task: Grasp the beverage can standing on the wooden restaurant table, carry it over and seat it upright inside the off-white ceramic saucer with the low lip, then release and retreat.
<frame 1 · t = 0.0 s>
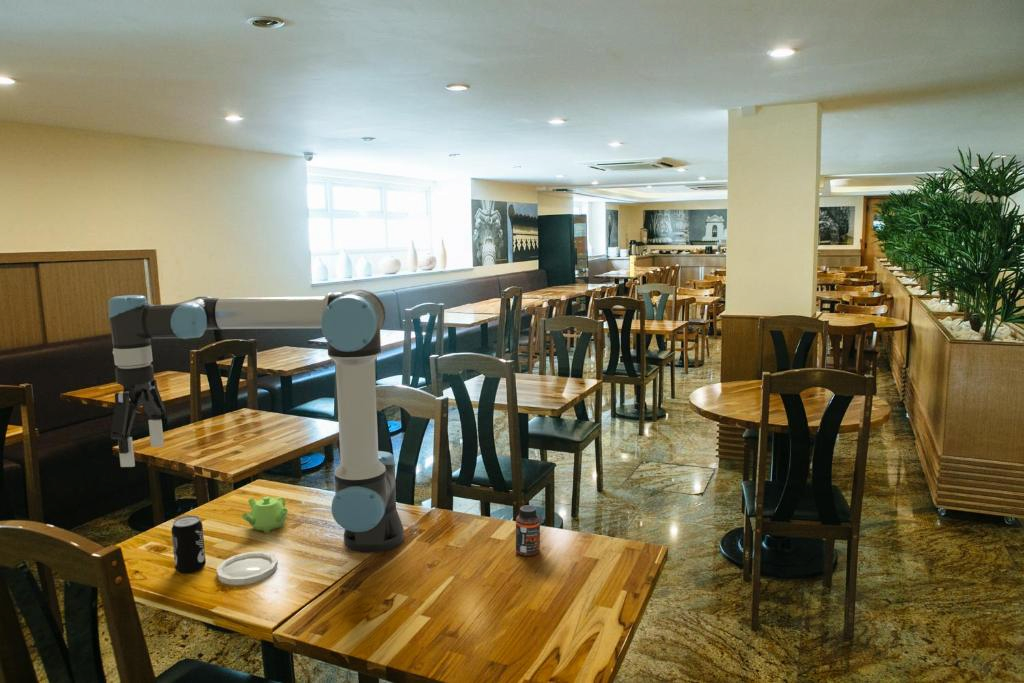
hand: (143, 456, 158), 28 cm above the table, fingers open, 13 cm apart
teapot: (266, 529, 185), on the table
supplement bottle: (527, 552, 171), on the table
beverage can: (190, 569, 164), on the table
saucer: (247, 571, 162), on the table
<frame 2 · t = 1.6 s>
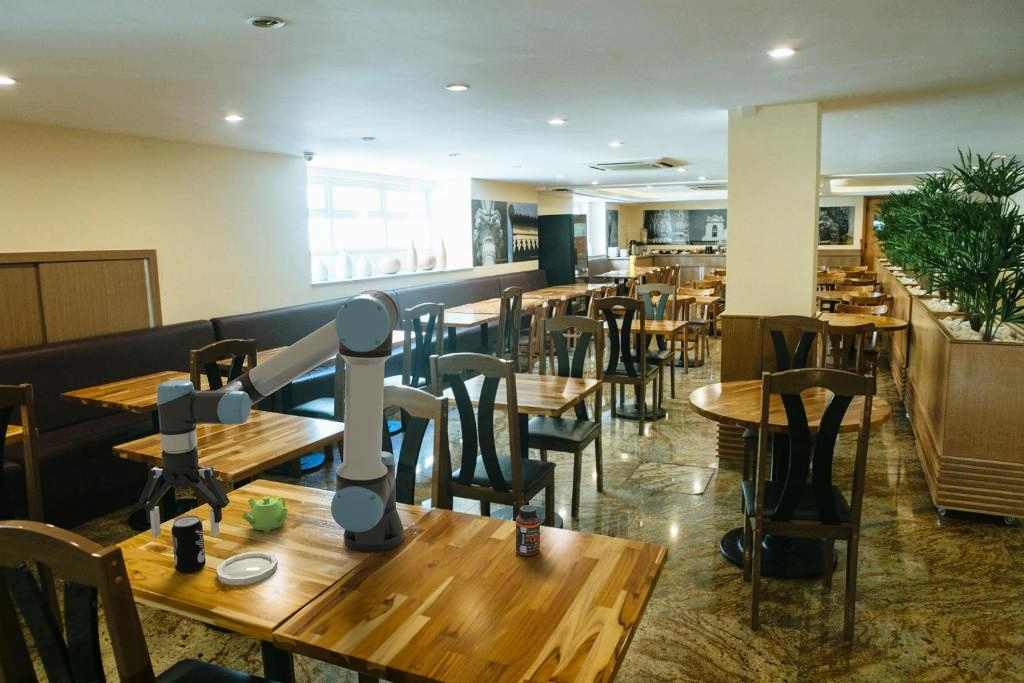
hand: (186, 535, 162), 8 cm above the table, fingers open, 13 cm apart
nothing on the table moved.
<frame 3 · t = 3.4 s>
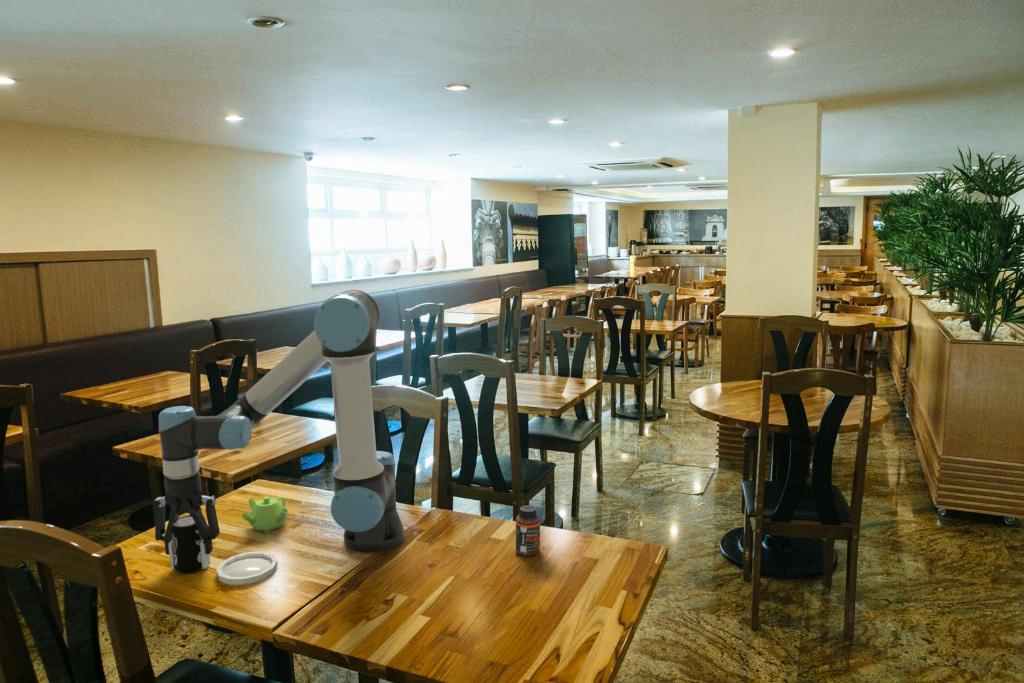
hand: (190, 566, 164), 0 cm above the table, fingers closed on beverage can, 7 cm apart
beverage can: (190, 568, 164), on the table, touching gripper
everything else where it was.
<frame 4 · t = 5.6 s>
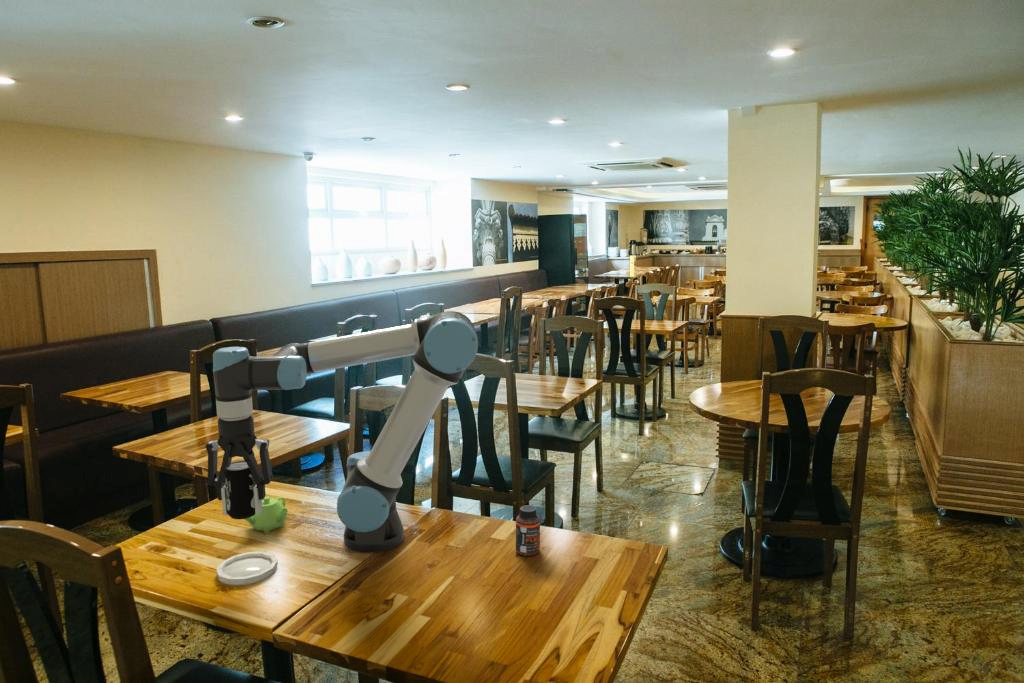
hand: (243, 512, 160), 15 cm above the table, fingers closed on beverage can, 7 cm apart
beverage can: (243, 515, 160), point 14 cm above the table, touching gripper
everything else where it was.
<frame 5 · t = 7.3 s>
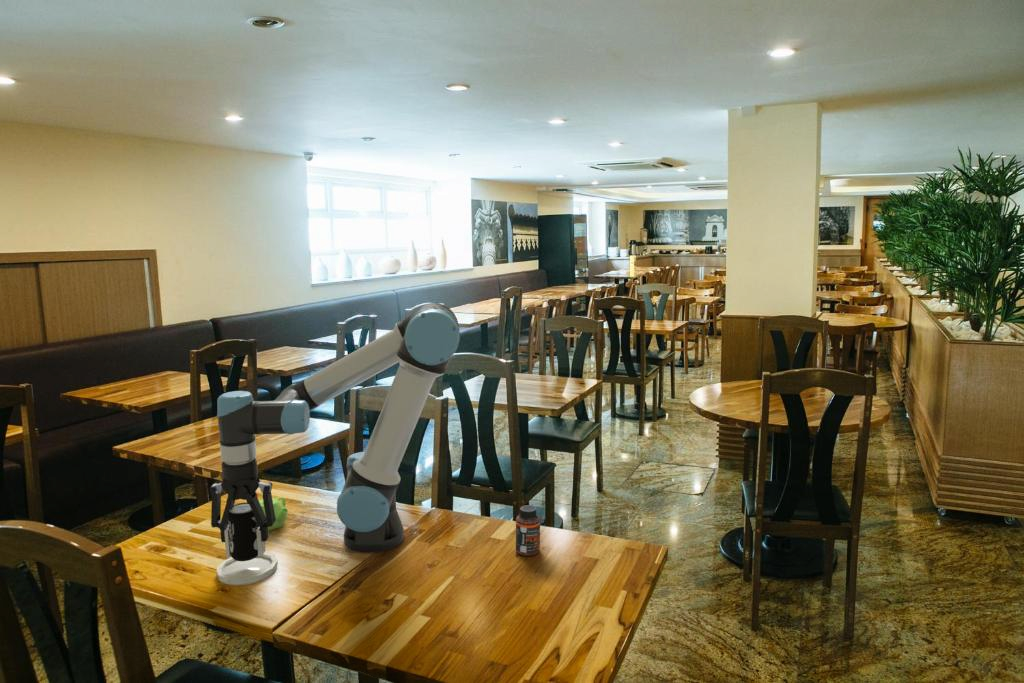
hand: (246, 553, 161), 4 cm above the table, fingers closed on beverage can, 7 cm apart
beverage can: (246, 556, 161), point 4 cm above the table, touching gripper
everything else where it was.
when the fingers open (3 cm above the table, at t = 8.3 s): beverage can drops 2 cm, resting on saucer.
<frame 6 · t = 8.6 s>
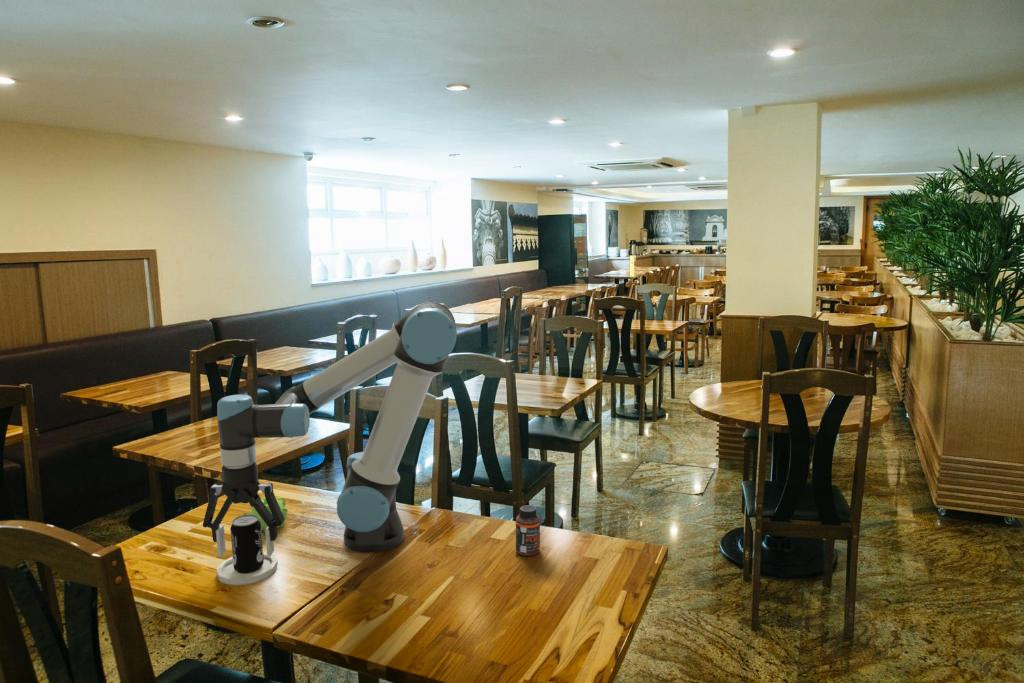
hand: (246, 553, 161), 4 cm above the table, fingers open, 10 cm apart
beverage can: (249, 568, 162), point 1 cm above the table, touching saucer
everything else where it was.
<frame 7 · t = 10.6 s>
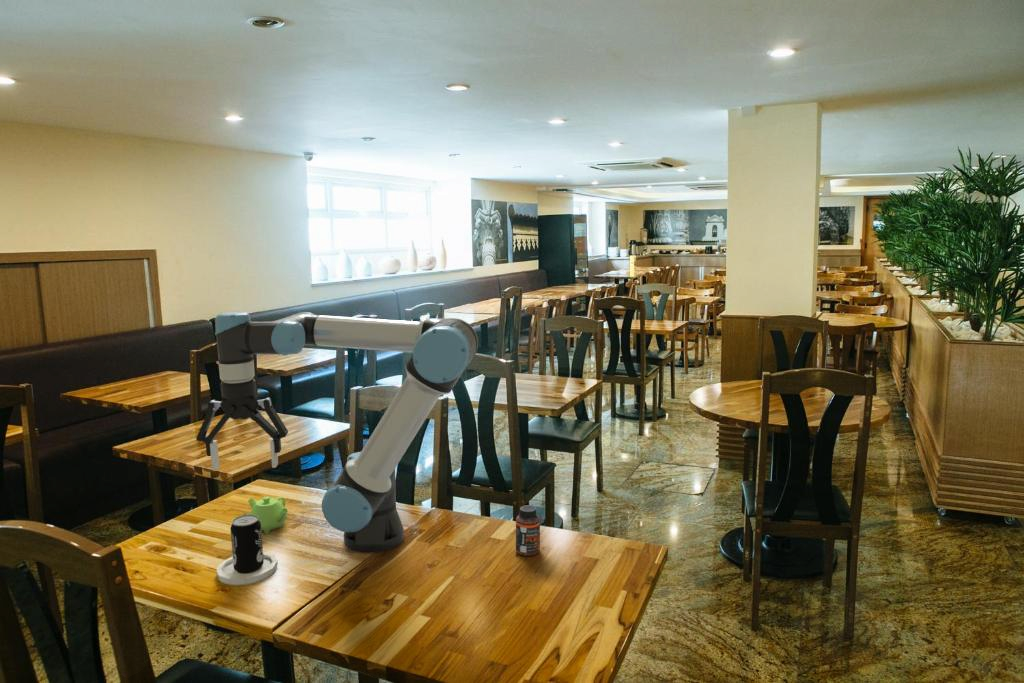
hand: (245, 467, 163), 23 cm above the table, fingers open, 13 cm apart
nothing on the table moved.
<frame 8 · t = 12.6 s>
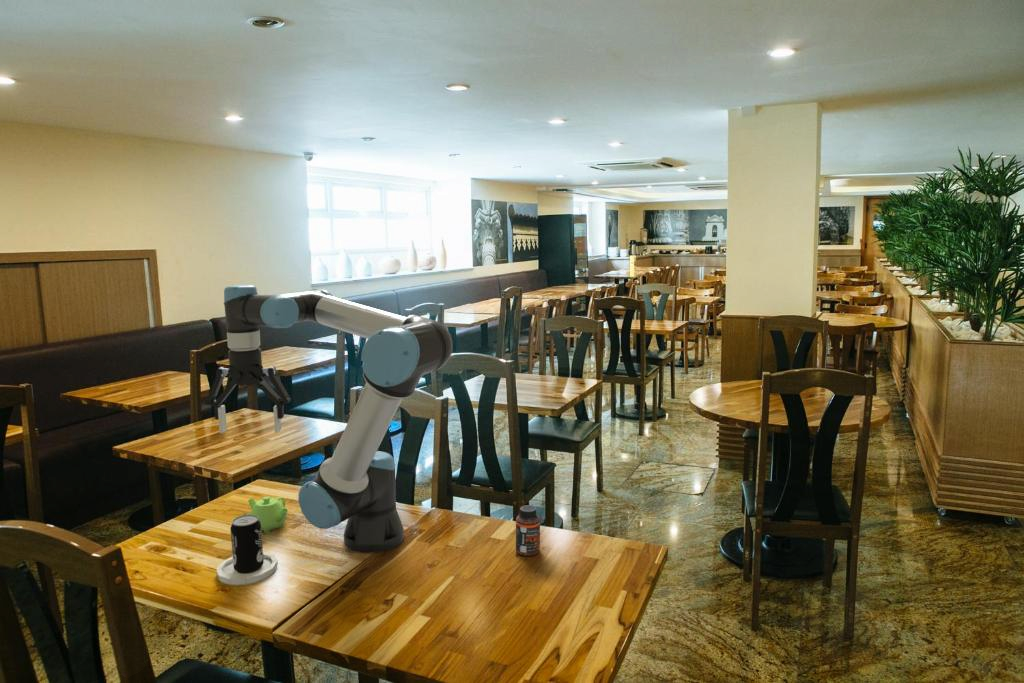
hand: (250, 431, 174), 29 cm above the table, fingers open, 13 cm apart
nothing on the table moved.
at the end: beverage can 0.3 cm off-centre on the saucer, point 0.6 cm above the saucer's base; beverage can tilted 0°; the gripper is holding nothing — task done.
